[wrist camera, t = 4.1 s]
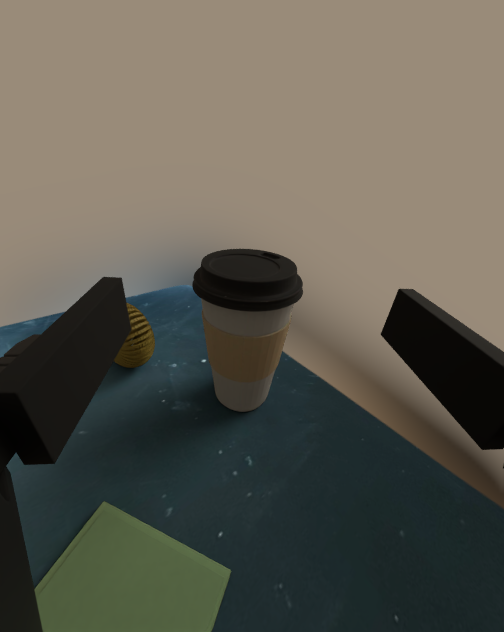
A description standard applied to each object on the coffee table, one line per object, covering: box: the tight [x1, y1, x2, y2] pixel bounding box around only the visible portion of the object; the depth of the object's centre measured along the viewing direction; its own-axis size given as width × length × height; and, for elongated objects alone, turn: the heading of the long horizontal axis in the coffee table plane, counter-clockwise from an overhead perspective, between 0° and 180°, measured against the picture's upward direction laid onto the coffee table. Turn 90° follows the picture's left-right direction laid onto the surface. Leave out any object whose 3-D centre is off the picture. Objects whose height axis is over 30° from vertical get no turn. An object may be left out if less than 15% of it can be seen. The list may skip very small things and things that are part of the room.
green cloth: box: [34, 501, 231, 632], centre depth 15 cm, size 10×6×1 cm, turn 70°
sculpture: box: [114, 303, 155, 368], centre depth 30 cm, size 8×4×8 cm, turn 55°
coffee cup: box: [193, 249, 303, 412], centre depth 25 cm, size 9×9×15 cm
